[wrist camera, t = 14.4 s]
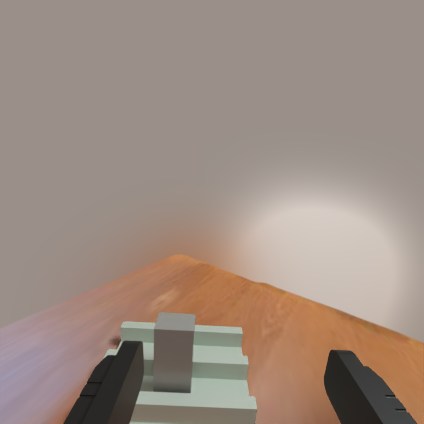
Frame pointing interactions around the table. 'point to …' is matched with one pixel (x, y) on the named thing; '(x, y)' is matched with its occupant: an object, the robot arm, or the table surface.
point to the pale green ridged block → (196, 380)
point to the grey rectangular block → (173, 352)
